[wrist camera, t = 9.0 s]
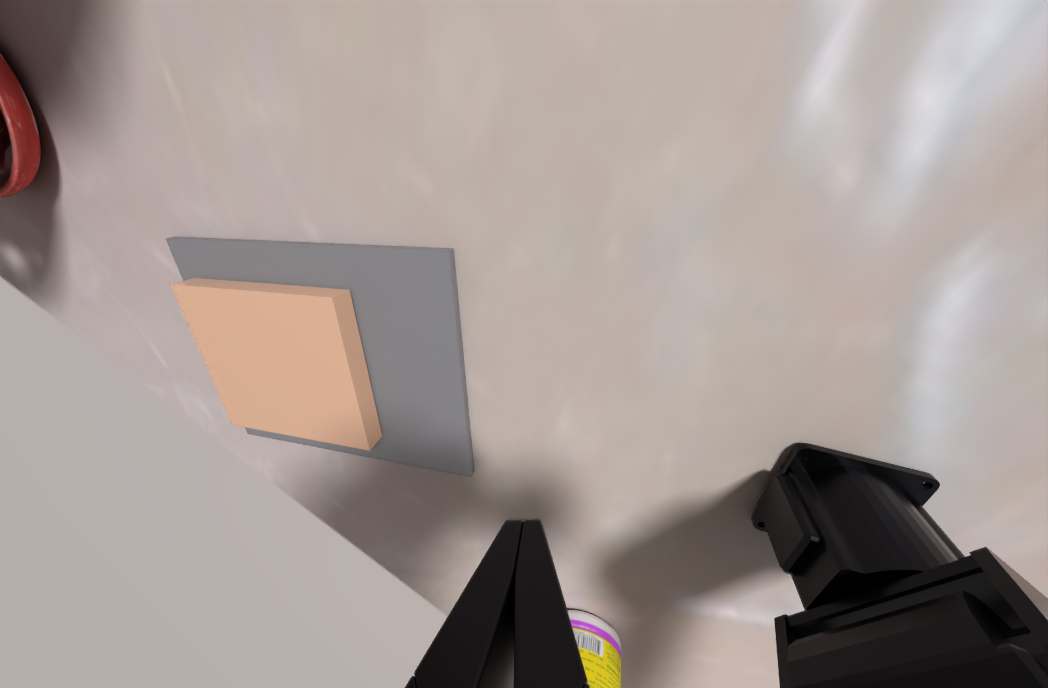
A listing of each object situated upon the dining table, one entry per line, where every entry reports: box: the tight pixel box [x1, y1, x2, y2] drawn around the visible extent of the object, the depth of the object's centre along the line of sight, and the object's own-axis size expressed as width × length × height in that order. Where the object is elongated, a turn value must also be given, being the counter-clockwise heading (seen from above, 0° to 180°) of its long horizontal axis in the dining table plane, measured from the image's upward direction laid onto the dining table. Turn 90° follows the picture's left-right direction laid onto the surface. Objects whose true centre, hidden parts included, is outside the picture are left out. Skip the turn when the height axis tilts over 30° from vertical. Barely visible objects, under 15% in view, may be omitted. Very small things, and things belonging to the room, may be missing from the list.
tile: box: [170, 278, 382, 451], centre depth 25 cm, size 2×11×12 cm
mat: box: [166, 237, 474, 477], centre depth 26 cm, size 20×16×1 cm
